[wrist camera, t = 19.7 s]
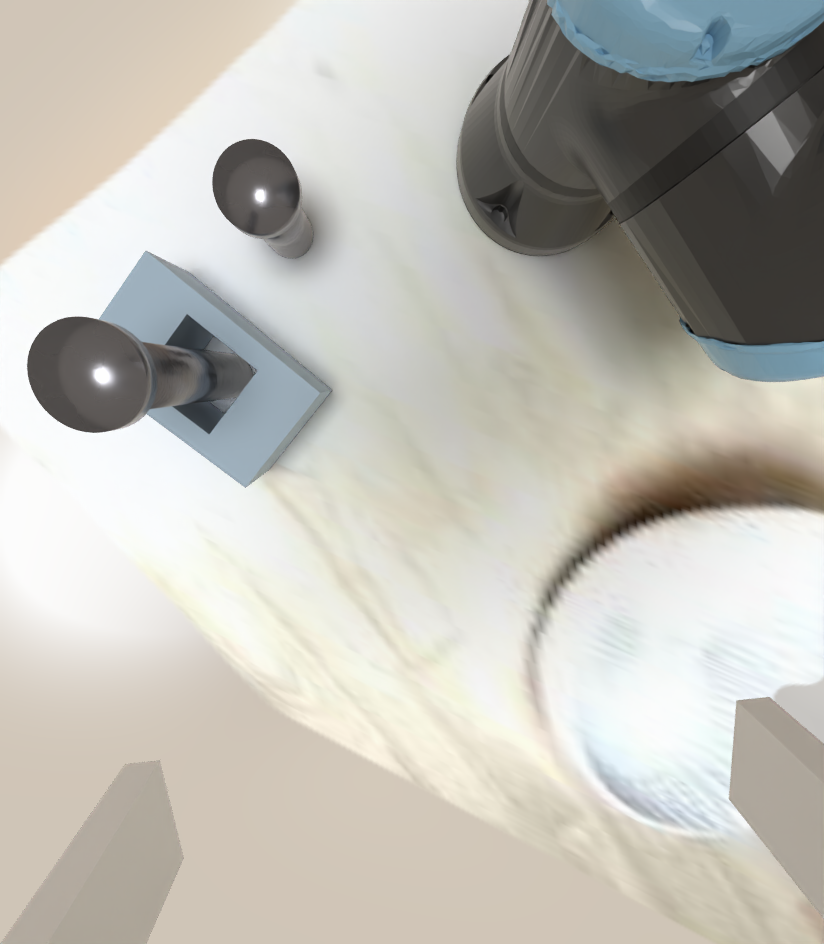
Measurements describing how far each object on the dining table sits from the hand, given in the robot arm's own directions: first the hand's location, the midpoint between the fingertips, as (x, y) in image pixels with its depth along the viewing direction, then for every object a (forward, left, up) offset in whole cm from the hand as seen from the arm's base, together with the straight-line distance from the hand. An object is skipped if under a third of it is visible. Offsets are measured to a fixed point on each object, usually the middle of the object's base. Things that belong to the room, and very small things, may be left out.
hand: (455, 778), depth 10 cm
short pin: (+8, -22, -35) cm, 42 cm away
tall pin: (+16, -10, -35) cm, 39 cm away
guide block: (+16, -10, -35) cm, 39 cm away
